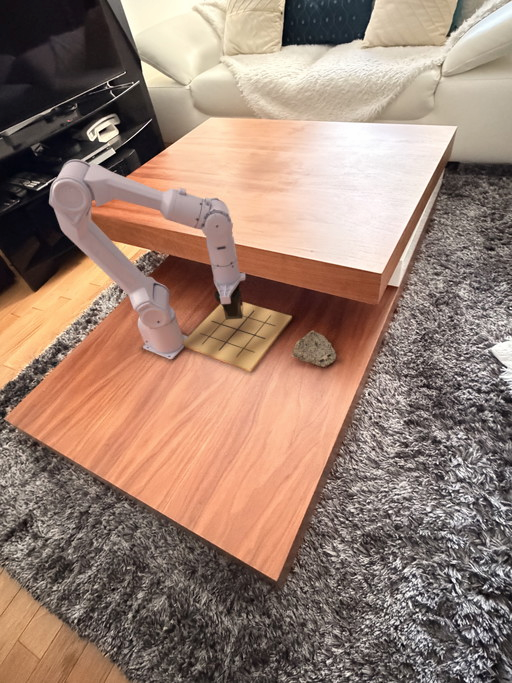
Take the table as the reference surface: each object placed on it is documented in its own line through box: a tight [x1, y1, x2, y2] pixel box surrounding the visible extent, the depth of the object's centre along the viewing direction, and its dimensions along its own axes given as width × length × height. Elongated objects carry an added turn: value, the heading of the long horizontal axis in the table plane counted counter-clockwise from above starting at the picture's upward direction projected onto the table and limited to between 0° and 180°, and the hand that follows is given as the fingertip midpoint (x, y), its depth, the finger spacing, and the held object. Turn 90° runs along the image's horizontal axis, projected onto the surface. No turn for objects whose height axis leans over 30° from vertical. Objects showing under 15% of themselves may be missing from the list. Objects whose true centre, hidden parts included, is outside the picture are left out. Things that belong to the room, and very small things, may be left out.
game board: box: [183, 301, 293, 373], centre depth 96 cm, size 20×20×1 cm
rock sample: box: [291, 330, 338, 368], centre depth 86 cm, size 10×8×9 cm
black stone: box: [223, 294, 243, 320], centre depth 90 cm, size 4×4×5 cm
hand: (233, 309), depth 91 cm, fingers closed on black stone, 4 cm apart
